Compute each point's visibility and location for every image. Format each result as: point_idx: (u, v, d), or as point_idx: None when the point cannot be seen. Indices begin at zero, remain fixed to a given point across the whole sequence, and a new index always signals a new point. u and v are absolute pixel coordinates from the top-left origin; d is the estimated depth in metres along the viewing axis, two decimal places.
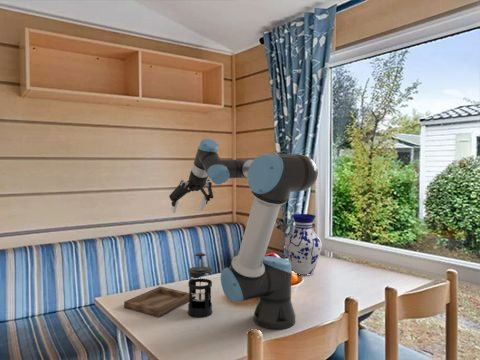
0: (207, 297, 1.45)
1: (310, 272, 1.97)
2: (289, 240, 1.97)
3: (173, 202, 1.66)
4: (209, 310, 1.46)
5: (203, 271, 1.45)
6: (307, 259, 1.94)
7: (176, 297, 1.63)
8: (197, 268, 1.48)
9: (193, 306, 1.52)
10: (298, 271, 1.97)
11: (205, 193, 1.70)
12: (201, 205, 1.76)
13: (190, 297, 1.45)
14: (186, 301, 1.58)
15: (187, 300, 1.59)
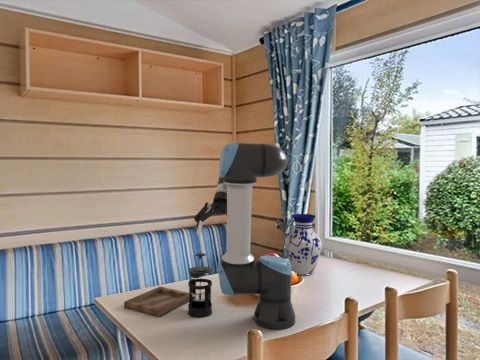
0: (207, 297, 1.45)
1: (310, 272, 1.97)
2: (289, 240, 1.97)
3: (197, 222, 1.65)
4: (209, 310, 1.46)
5: (203, 271, 1.45)
6: (307, 259, 1.94)
7: (176, 297, 1.63)
8: (197, 268, 1.48)
9: (193, 306, 1.52)
10: (298, 271, 1.97)
11: None
12: None
13: (190, 297, 1.45)
14: (186, 301, 1.58)
15: (187, 300, 1.59)
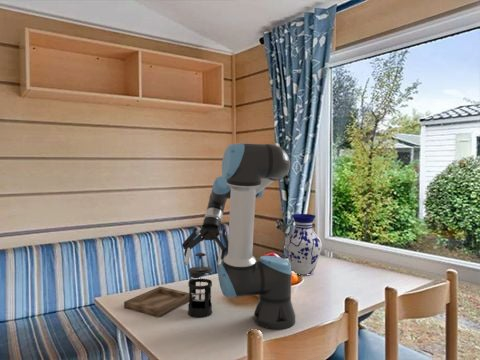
0: (207, 297, 1.45)
1: (310, 272, 1.97)
2: (289, 240, 1.97)
3: (185, 249, 1.58)
4: (209, 310, 1.46)
5: (203, 271, 1.45)
6: (307, 259, 1.94)
7: (176, 297, 1.63)
8: (197, 268, 1.48)
9: (193, 306, 1.52)
10: (298, 271, 1.97)
11: (219, 241, 1.58)
12: None
13: (190, 297, 1.45)
14: (186, 301, 1.58)
15: (187, 300, 1.59)
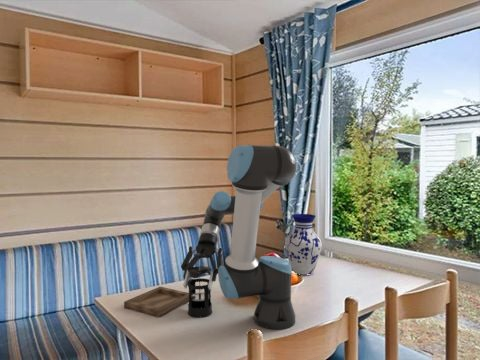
0: (207, 297, 1.45)
1: (310, 272, 1.97)
2: (289, 240, 1.97)
3: (184, 271, 1.50)
4: (209, 310, 1.46)
5: (202, 271, 1.45)
6: (307, 259, 1.94)
7: (176, 297, 1.63)
8: (196, 268, 1.48)
9: (193, 306, 1.52)
10: (298, 271, 1.97)
11: (212, 260, 1.51)
12: None
13: (190, 297, 1.45)
14: (186, 301, 1.58)
15: (187, 300, 1.59)
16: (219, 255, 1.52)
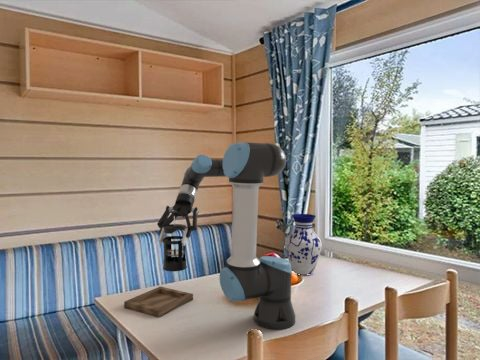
0: (181, 252, 1.51)
1: (310, 272, 1.97)
2: (289, 240, 1.97)
3: (160, 228, 1.56)
4: (183, 265, 1.52)
5: (176, 227, 1.51)
6: (307, 259, 1.94)
7: (176, 297, 1.63)
8: (171, 225, 1.54)
9: (169, 262, 1.58)
10: (298, 271, 1.97)
11: (188, 218, 1.56)
12: None
13: (164, 252, 1.52)
14: (186, 301, 1.58)
15: (187, 300, 1.59)
16: (194, 214, 1.58)
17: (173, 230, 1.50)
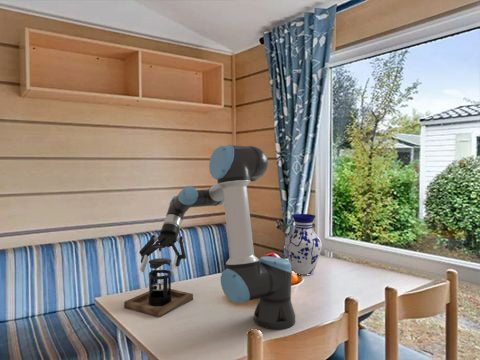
0: (166, 287, 1.54)
1: (310, 272, 1.97)
2: (289, 240, 1.97)
3: (142, 257, 1.59)
4: (168, 299, 1.55)
5: (162, 262, 1.54)
6: (307, 259, 1.94)
7: (176, 297, 1.63)
8: (157, 259, 1.57)
9: (154, 296, 1.60)
10: (298, 271, 1.97)
11: (175, 248, 1.59)
12: None
13: (150, 287, 1.54)
14: (186, 301, 1.58)
15: (187, 300, 1.59)
16: (181, 242, 1.61)
17: (158, 265, 1.52)
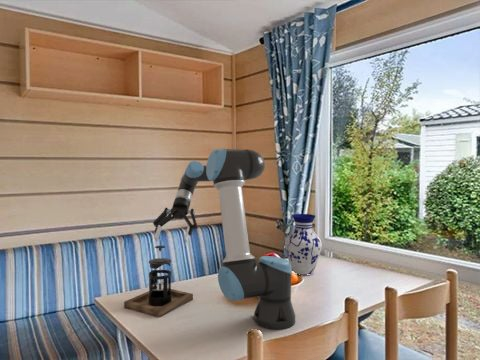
0: (166, 287, 1.54)
1: (310, 272, 1.97)
2: (289, 240, 1.97)
3: None
4: (168, 299, 1.55)
5: (162, 262, 1.54)
6: (307, 259, 1.94)
7: (176, 297, 1.63)
8: (157, 259, 1.57)
9: (154, 296, 1.60)
10: (298, 271, 1.97)
11: (187, 218, 1.72)
12: None
13: (150, 287, 1.54)
14: (186, 301, 1.58)
15: (187, 300, 1.59)
16: (192, 214, 1.73)
17: (158, 265, 1.52)
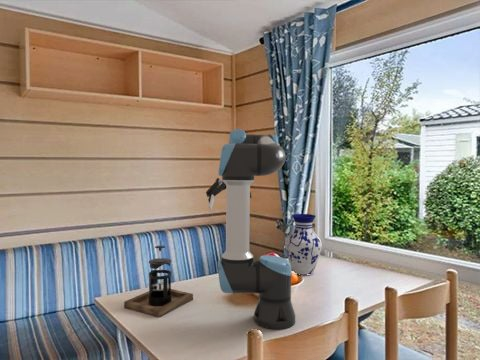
0: (166, 287, 1.54)
1: (310, 272, 1.97)
2: (289, 240, 1.97)
3: (209, 196, 1.71)
4: (168, 299, 1.55)
5: (162, 262, 1.54)
6: (307, 259, 1.94)
7: (176, 297, 1.63)
8: (157, 259, 1.57)
9: (154, 296, 1.60)
10: (298, 271, 1.97)
11: None
12: None
13: (150, 287, 1.54)
14: (186, 301, 1.58)
15: (187, 300, 1.59)
16: None
17: (158, 265, 1.52)
